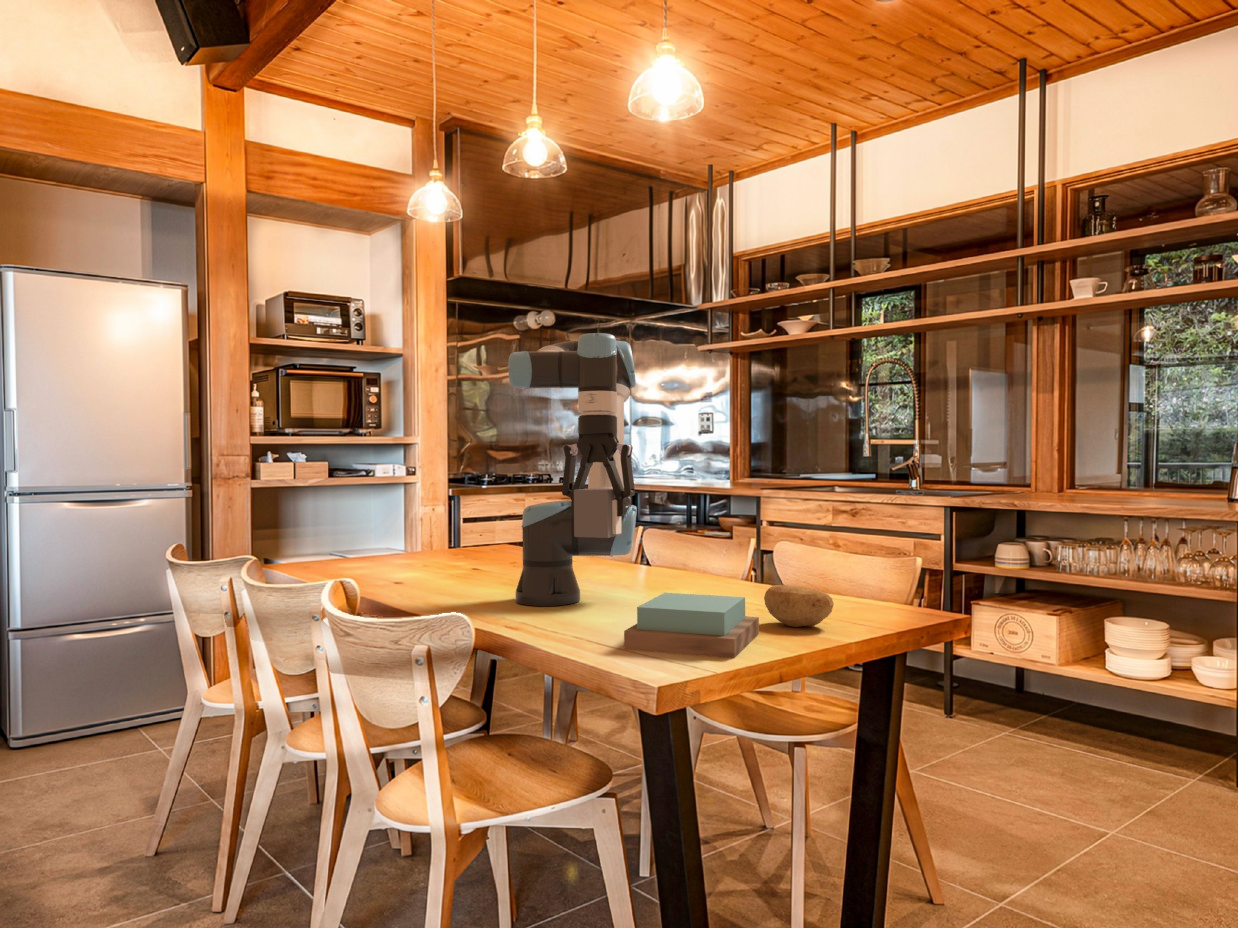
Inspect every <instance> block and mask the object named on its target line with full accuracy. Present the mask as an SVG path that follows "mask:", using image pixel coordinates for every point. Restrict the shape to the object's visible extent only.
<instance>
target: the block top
mask: <svg viewBox="0 0 1238 928" xmlns="http://www.w3.org/2000/svg"><path fill="white" fill-rule="evenodd" d="M636 608H637V609H636V612H637V613H636V615H637V617H636V621H637V622H636V624H637V629H640V630H654V631H668V632H681V633H695V634H709V635H722V636H725V635H726V634H727V633H728V632H729V631H731V630H732V629H733V628H734V627H735V626H737V625H738V624H739V623H740V622H741V621H743V620H744V619H745V616H746V597H745V596H729V595H715V594H714V595H710V594H696V593H695V594H694V593H693V594H691V593H676V592H674V593H673V592H664V593H661V594H660V595H658V596H655V597H654V598H652V599H649V600H648V601H646V602H645V603H643V604H641V605H638V606H637V607H636Z"/></svg>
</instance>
